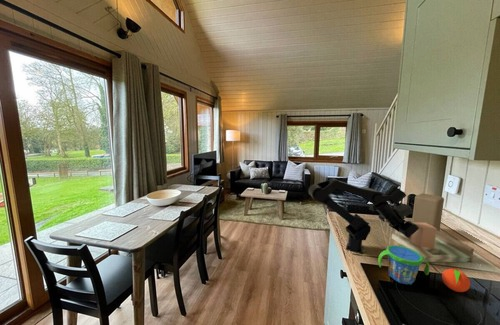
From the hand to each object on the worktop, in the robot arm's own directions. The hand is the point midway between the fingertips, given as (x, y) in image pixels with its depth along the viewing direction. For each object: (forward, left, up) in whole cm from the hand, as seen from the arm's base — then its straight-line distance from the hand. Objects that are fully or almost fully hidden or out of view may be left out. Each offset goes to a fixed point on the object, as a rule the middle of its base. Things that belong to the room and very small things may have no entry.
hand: (408, 234), depth 97 cm
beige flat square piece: (+5, -8, -7) cm, 12 cm away
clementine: (-23, -12, -7) cm, 27 cm away
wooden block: (+27, -10, -7) cm, 30 cm away
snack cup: (-26, +3, -7) cm, 27 cm away
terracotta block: (+4, -6, -5) cm, 8 cm away
